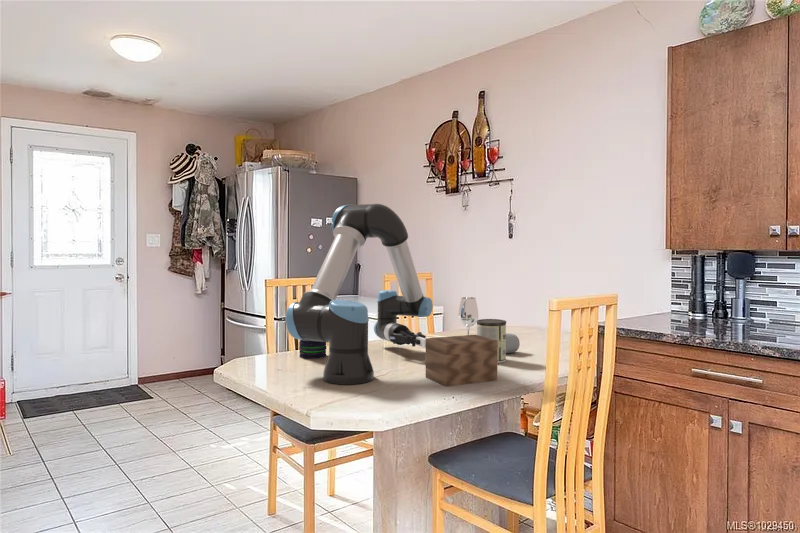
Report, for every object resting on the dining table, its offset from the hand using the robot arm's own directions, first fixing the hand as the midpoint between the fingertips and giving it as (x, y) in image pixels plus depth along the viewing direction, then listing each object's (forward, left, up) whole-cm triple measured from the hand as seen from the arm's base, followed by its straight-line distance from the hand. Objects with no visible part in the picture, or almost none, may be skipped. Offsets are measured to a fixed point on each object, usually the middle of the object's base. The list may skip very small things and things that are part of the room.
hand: (426, 343), depth 188 cm
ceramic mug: (+37, +7, -8) cm, 38 cm away
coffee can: (+24, -3, -7) cm, 25 cm away
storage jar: (-31, +30, -7) cm, 44 cm away
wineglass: (+29, +20, -7) cm, 36 cm away
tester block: (0, -22, -7) cm, 23 cm away
